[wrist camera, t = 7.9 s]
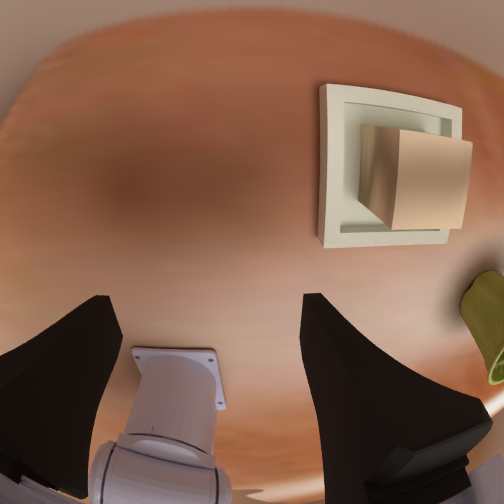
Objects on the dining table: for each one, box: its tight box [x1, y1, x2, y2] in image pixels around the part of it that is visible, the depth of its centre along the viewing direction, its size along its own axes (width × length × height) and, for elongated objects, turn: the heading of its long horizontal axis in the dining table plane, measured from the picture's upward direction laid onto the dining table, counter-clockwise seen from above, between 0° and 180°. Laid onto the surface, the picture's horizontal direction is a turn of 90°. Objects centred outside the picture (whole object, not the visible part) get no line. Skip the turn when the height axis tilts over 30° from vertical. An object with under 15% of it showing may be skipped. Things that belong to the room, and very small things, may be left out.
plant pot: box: [460, 271, 504, 385], centre depth 18 cm, size 9×9×9 cm
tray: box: [317, 84, 462, 248], centre depth 16 cm, size 10×10×2 cm
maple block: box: [358, 124, 473, 230], centre depth 14 cm, size 5×5×5 cm
